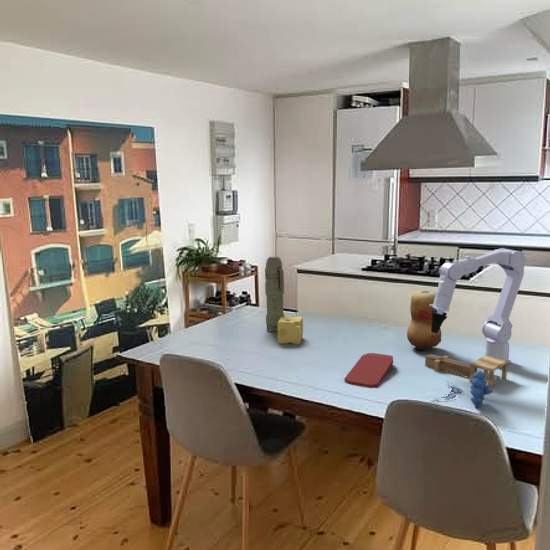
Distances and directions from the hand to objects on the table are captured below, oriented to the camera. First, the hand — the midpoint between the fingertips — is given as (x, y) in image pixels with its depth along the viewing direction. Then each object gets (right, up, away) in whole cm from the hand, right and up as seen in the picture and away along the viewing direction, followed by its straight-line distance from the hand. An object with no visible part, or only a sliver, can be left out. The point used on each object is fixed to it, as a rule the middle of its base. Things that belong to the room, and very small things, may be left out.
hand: (434, 331), depth 196 cm
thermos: (-58, -6, +64) cm, 86 cm away
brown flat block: (+17, -17, -6) cm, 25 cm away
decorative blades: (0, -20, -17) cm, 26 cm away
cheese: (-51, -9, +45) cm, 69 cm away
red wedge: (-22, -17, +3) cm, 28 cm away
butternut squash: (+4, -11, +29) cm, 31 cm away
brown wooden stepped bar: (+7, -15, +4) cm, 17 cm away
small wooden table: (+17, -17, -6) cm, 25 cm away
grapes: (+6, -21, -27) cm, 35 cm away
